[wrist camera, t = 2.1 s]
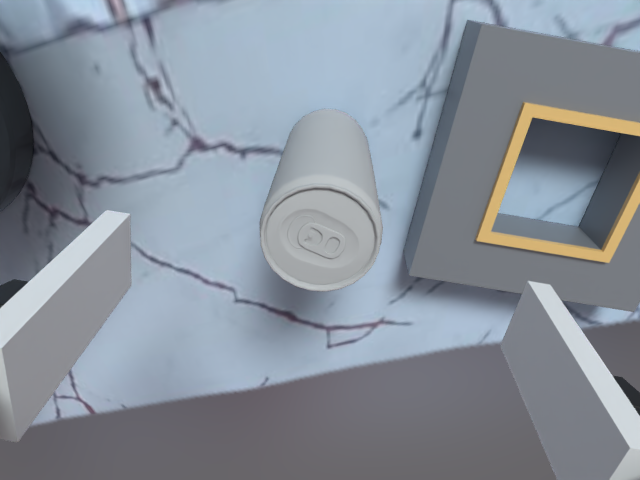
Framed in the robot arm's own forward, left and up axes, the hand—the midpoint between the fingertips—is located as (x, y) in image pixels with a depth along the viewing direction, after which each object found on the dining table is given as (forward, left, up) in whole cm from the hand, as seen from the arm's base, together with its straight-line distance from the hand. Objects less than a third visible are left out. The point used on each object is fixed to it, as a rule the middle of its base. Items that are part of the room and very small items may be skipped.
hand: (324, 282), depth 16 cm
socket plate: (+13, +1, -15) cm, 19 cm away
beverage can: (0, 0, -15) cm, 15 cm away
